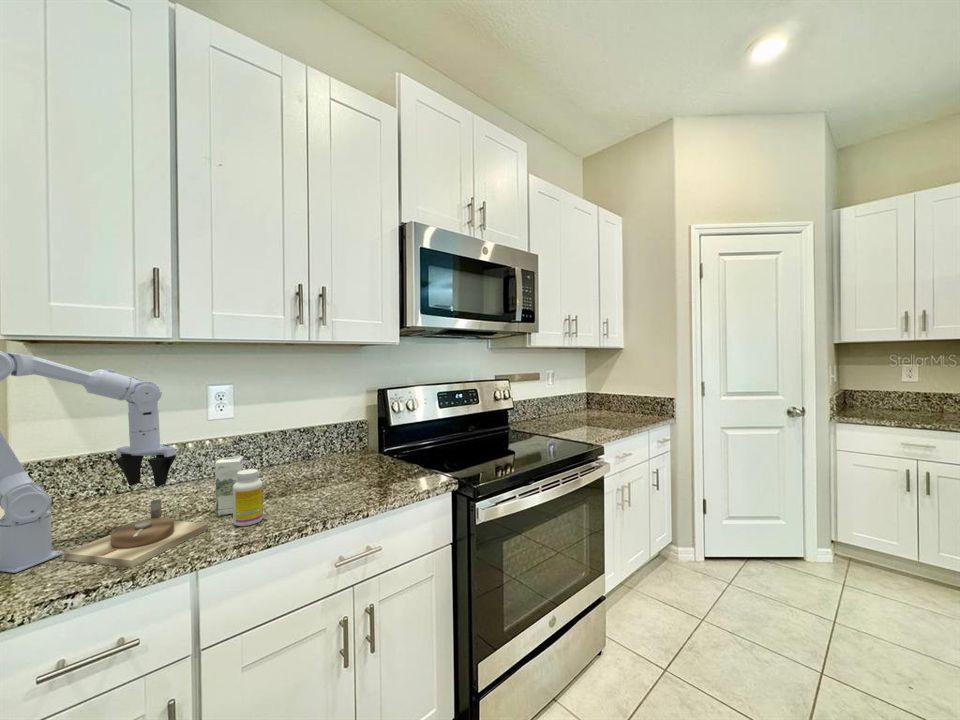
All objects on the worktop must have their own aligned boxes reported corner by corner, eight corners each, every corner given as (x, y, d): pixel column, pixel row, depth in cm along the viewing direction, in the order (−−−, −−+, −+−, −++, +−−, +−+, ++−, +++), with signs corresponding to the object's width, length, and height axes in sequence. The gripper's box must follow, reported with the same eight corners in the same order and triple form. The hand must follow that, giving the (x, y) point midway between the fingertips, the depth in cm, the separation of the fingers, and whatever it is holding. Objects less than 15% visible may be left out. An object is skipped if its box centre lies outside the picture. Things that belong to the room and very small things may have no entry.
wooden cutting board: (64, 560, 84) (64, 552, 84) (150, 524, 101) (150, 518, 101) (131, 567, 80) (131, 559, 80) (208, 529, 98) (208, 523, 98)
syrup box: (244, 506, 114) (243, 455, 113) (240, 514, 108) (239, 460, 108) (220, 509, 111) (219, 457, 111) (215, 517, 106) (214, 462, 106)
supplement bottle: (267, 521, 103) (266, 471, 103) (238, 529, 98) (237, 476, 98) (257, 514, 108) (256, 466, 108) (229, 522, 103) (228, 471, 103)
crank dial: (166, 541, 88) (166, 517, 88) (101, 551, 84) (100, 526, 84) (184, 516, 102) (184, 496, 102) (129, 524, 97) (128, 502, 97)
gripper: (184, 426, 102) (187, 480, 102) (135, 426, 104) (138, 478, 105) (158, 432, 95) (161, 490, 95) (106, 432, 97) (109, 488, 98)
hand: (147, 484), depth 99 cm, fingers open, 7 cm apart
